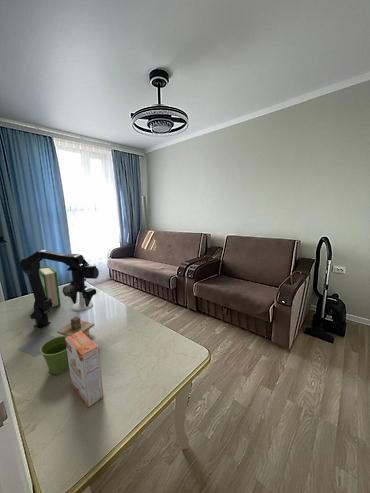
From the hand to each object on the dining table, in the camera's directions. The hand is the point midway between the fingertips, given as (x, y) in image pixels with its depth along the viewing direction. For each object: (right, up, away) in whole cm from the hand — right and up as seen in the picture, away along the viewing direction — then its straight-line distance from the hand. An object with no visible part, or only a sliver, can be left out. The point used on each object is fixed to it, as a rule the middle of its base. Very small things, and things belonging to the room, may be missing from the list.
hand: (80, 305), depth 114 cm
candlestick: (-11, -8, +25) cm, 29 cm away
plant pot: (+5, -19, -27) cm, 33 cm away
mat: (-13, -16, -13) cm, 24 cm away
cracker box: (+21, -21, -37) cm, 48 cm away
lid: (+1, -10, -7) cm, 13 cm away
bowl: (+2, -15, -6) cm, 16 cm away
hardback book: (-35, -7, +29) cm, 47 cm away
